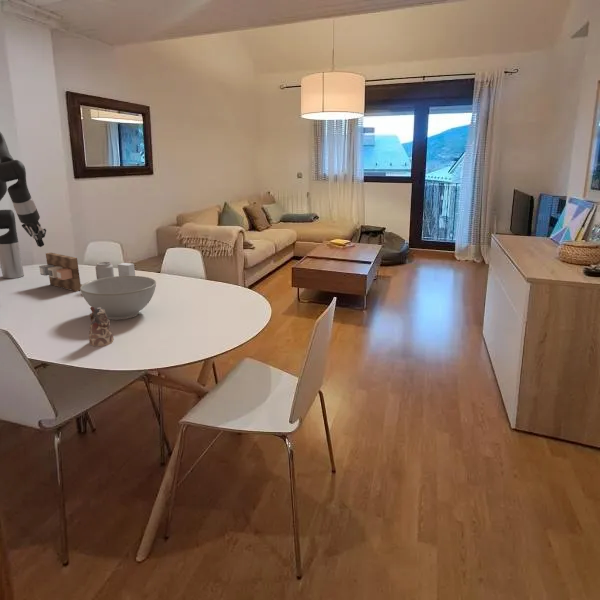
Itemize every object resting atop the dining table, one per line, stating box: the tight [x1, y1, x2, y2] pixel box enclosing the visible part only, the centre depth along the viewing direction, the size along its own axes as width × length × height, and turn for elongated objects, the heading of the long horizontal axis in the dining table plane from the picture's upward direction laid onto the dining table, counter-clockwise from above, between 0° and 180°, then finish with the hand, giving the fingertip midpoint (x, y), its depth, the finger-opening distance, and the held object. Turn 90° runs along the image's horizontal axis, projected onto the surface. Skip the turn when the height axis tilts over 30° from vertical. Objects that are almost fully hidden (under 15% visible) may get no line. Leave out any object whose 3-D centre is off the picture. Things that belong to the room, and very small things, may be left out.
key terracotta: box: [56, 268, 73, 280], centre depth 203 cm, size 4×6×4 cm, turn 147°
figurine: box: [88, 306, 115, 347], centre depth 146 cm, size 7×7×12 cm
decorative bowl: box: [79, 275, 157, 320], centre depth 173 cm, size 27×27×12 cm
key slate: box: [38, 264, 54, 277], centre depth 210 cm, size 4×6×4 cm, turn 147°
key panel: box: [45, 252, 83, 292], centre depth 210 cm, size 21×6×15 cm, turn 57°
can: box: [95, 261, 115, 280], centre depth 209 cm, size 8×8×12 cm
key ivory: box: [48, 266, 63, 278], centre depth 206 cm, size 4×6×4 cm, turn 147°
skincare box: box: [117, 262, 136, 276], centre depth 207 cm, size 6×4×12 cm
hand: (41, 245), depth 196 cm, fingers closed
